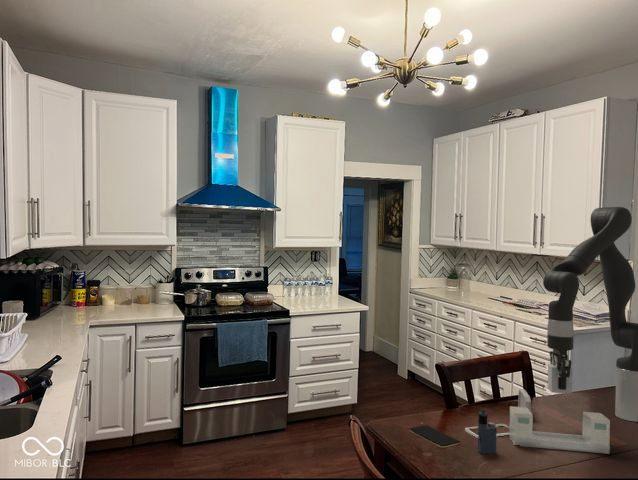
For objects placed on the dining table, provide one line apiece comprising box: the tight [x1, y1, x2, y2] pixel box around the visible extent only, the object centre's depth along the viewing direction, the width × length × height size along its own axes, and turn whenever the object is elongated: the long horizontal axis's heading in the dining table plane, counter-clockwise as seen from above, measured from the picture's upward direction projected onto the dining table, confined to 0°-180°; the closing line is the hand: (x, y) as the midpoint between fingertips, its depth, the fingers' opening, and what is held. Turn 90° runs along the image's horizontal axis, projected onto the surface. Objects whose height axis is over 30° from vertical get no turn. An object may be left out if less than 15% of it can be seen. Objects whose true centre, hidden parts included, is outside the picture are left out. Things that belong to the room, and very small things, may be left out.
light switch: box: [517, 388, 532, 413], centre depth 172 cm, size 2×12×8 cm, turn 169°
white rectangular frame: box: [464, 423, 510, 439], centre depth 154 cm, size 7×1×15 cm
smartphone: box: [409, 424, 461, 449], centre depth 149 cm, size 7×1×15 cm
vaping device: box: [477, 408, 498, 455], centre depth 139 cm, size 3×5×12 cm, turn 95°
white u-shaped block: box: [508, 405, 611, 455], centre depth 146 cm, size 26×7×10 cm, turn 81°
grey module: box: [547, 363, 573, 394], centre depth 157 cm, size 6×4×8 cm
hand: (559, 386), depth 157 cm, fingers closed on grey module, 4 cm apart
